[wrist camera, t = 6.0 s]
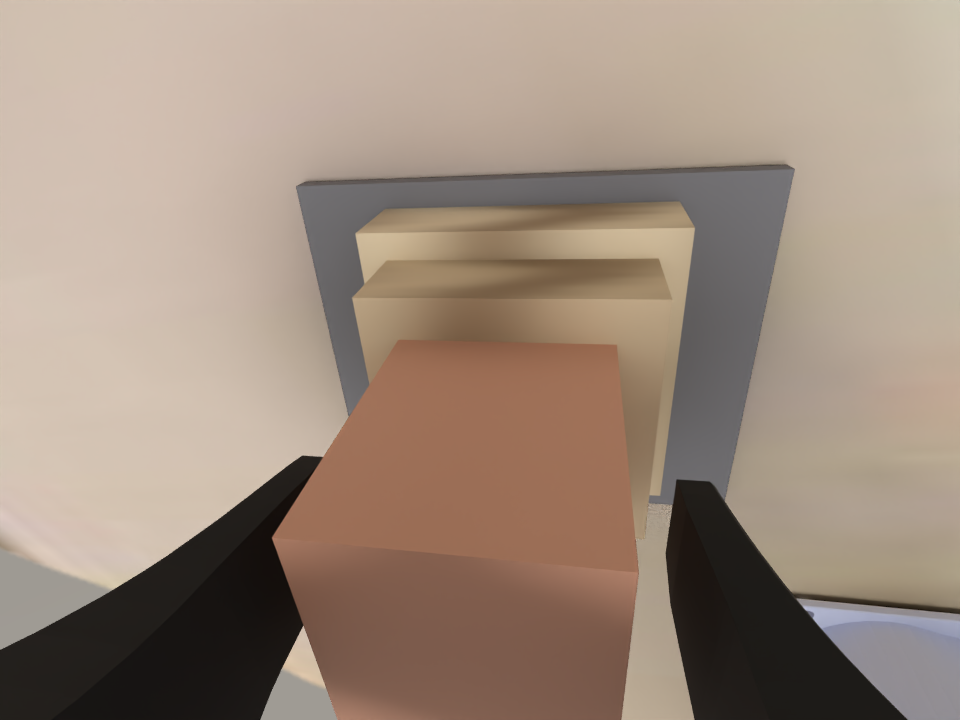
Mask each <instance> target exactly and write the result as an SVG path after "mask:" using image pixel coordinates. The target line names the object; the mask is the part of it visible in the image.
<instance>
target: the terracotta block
mask: <svg viewBox="0 0 960 720" xmlns="http://www.w3.org/2000/svg"><path fill="white" fill-rule="evenodd" d="M272 539H273V542H274V545H275V548H276V550H277V553H278V556H279V559H280V562H281V564H282V567H283V570H284V573H285V575H286V578H287V581H288V584H289V586H290V589H291V592H292V595H293V597H294V600H295V603H296V606H297V608H298V611H299V614H300V617H301V620H302V622H303V625H304V628H305V631H306V633H307V636H308V639H309V642H310V644H311V647H312V650H313V653H314V655H315V658H316V661H317V664H318V666H319V669H320V672H321V675H322V678H323V680H324V683H325V686H326V689H327V691H328V694H329V697H330V700H331V702H332V705H333V708H334V711H335V713H336V716H337V719H338V720H621V717H622V709H623V701H624V692H625V684H626V675H627V667H628V659H629V650H630V642H631V634H632V625H633V617H634V608H635V600H636V592H637V583H638V575H639V570H638V560H637V549H636V539H635V529H634V518H633V508H632V498H631V487H630V477H629V466H628V456H627V446H626V435H625V425H624V414H623V404H622V394H621V383H620V373H619V363H618V352H617V345H608V344H565V343H521V342H477V341H434V340H398V341H397V343H396V344H395V346H394V347H393V349H392V350H391V352H390V354H389V355H388V357H387V358H386V360H385V361H384V363H383V365H382V366H381V368H380V369H379V371H378V372H377V374H376V375H375V377H374V379H373V380H372V382H371V383H370V385H369V386H368V388H367V390H366V391H365V393H364V394H363V396H362V397H361V399H360V401H359V402H358V404H357V405H356V407H355V408H354V410H353V411H352V413H351V415H350V416H349V418H348V419H347V421H346V422H345V424H344V426H343V427H342V429H341V430H340V432H339V433H338V435H337V437H336V438H335V440H334V441H333V443H332V444H331V446H330V448H329V449H328V451H327V452H326V454H325V455H324V457H323V458H322V460H321V462H320V463H319V465H318V466H317V468H316V469H315V471H314V473H313V474H312V476H311V477H310V479H309V480H308V482H307V484H306V485H305V487H304V488H303V490H302V491H301V493H300V494H299V496H298V498H297V499H296V501H295V502H294V504H293V505H292V507H291V509H290V510H289V512H288V513H287V515H286V516H285V518H284V520H283V521H282V523H281V524H280V526H279V527H278V529H277V531H276V532H275V534H274V535H273V537H272Z"/></svg>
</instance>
